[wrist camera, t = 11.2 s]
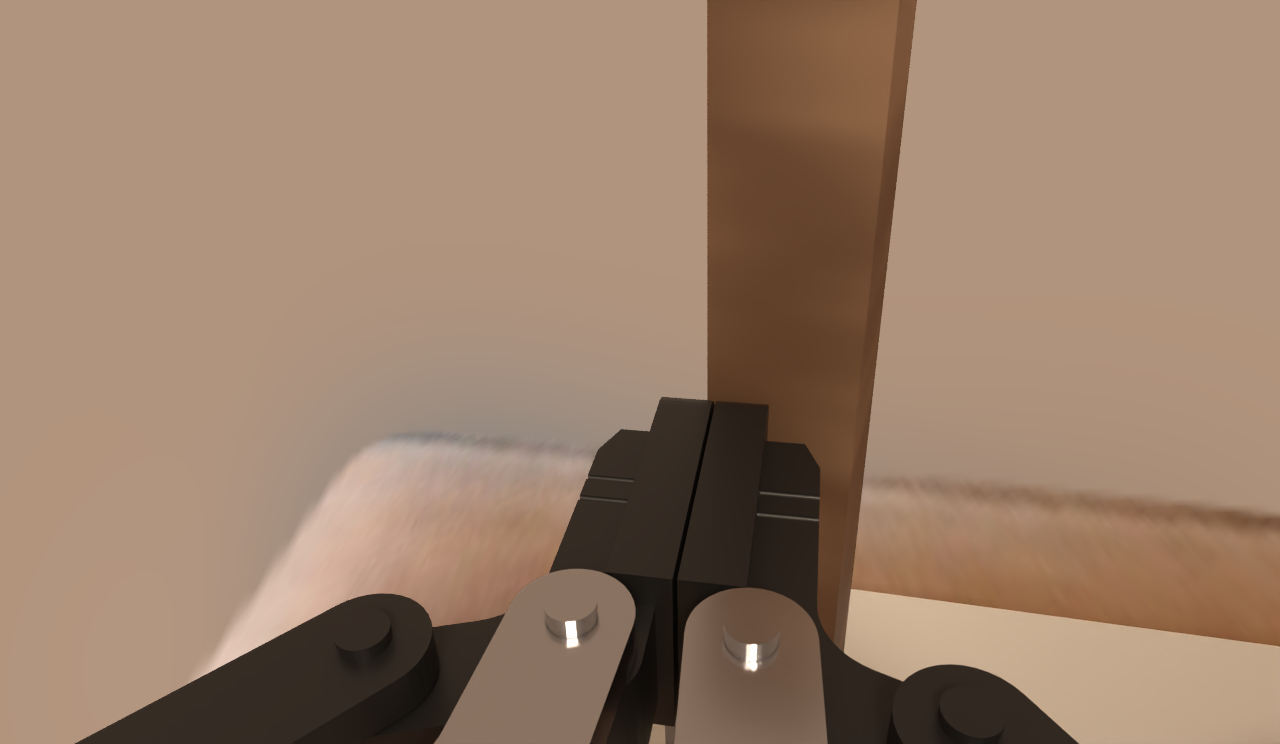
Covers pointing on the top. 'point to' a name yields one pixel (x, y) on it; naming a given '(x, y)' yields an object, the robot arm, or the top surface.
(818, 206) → the brown grey l-shaped piece
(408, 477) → the top surface
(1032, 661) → the dial plate
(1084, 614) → the top surface
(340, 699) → the robot arm
